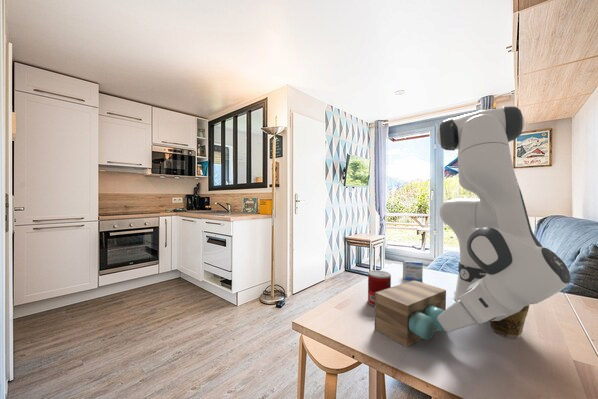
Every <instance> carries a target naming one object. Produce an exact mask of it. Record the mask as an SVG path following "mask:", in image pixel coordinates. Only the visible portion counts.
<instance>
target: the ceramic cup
mask: <svg viewBox="0 0 598 399" xmlns="http://www.w3.org/2000/svg"><path fill="white" fill-rule="evenodd" d="M529 309H530V305H527V306H525V307H523V308H522V310H520V311H519V312H517V313H515V314H513V315H511V316H508V317H506V318H504V319H502V320H500V321H489V326H490V329H491V330H492V331H493V332H494V333H495V334H497V335H500V336H501V337H505V338H507V339H519V338H520V337H521V336H522V333H523V329H524V325H525V321H526V318H527V316H528V312H529Z"/></svg>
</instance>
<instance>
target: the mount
mask: <svg viewBox="0 0 598 399" xmlns="http://www.w3.org/2000/svg"><path fill="white" fill-rule="evenodd" d="M446 301H447V289H443V288H440V287H437V286H435V285H431V284H427V283H424V282H422V281H415V280H413V281H412V280H409V281H407V282H404V283H401V284H398V285H395V286H391V288H388V289H384V290H381V291H378V292H375V306H374V330H375V331H378V332H379V333H382V334H383V335H385V336H386V337H388V338H390V339H391V340H394V341H395V342H397V343H399V344H401V345H403V346H404V347H406V348H407V347H409V346H411V345H412V344H415V343H416V342H419V341H420V340H421V339H424V340H427V341H428V340H431V338H432V337H433V336H434V333H435V332H437V330H436V329H435V320H434V319H433V318H432V317H430V316H427V315H425V314H424V309H425V308H427V306H429V305H432V306H435V307H437V308H440V309H443V310H446V309H447V308H446V303H447V302H446Z"/></svg>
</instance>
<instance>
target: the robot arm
mask: <svg viewBox="0 0 598 399" xmlns="http://www.w3.org/2000/svg"><path fill="white" fill-rule="evenodd" d="M524 127H525V117H524V115H523V113H522V110H521V109H519V108H518V107H517V106H514V105H513V106H509V105H508V106H502V107H499V108H489V109H482V110H478V111H475V112H471V113H470V112H469V113H467V114H463V115H460V116H456V117H450V118H447V119H445V120H443V121H441V123H440V124H439V127H438V129H437V132H436V138H437V141H438V142H437V143H438V144H439V145H440V148H442V149H443V150H445V151H455V150H458V151H457V170H458V173H457V174H458V183H459V185H460V186H461V187H462V189H463V190H465V191H468V192H471V193H473V194H475V195H476V196H477V198H453V199H449V200H448V199H447V200H445V201H444V202H443V203H442V204H441V206H440V207H439V216H440V219H441V220H442V223H444V224H445V225H447V226H448V227H449V228H450V229H451V230H452V231H453V233H454V234H455V236H456V238H457V240H458V243H459V244H458V245H459V262H458V266H457V268H458V269H457V271H458V275H457V280H456V286H455V287H456V288H455V290H454V293H453V294H454V297H453V299H454V300H455V302H454V303H452V304H451V305H449V306H448V308H446V310H445V311H443V312H442V313H441V314H440V315H439V316H438V317H437V320H438V322H439V323H440V325H441V326H442V328H443V329H444V332H447V333H451V332H454V331H455V332H456V331H458V330H461V329H464V328H466V327H470V326H472V325H475V324H478V325H483V324H485V323H486V324H487V323H488V322H489V323H490V321H500V320H502V319H504V318H506V317H508V316H511V315H513V314H515V313H517V312H519V311H520V310H522V308H523V307H525V306H527V305H529V306H530V305H537V304H539V303H541V302H543V301H545V300H546V299H547V300H548V299H549V298H550V297H553V296H554V295H556V294H559V292H561V291H562V290H564V289H565V288H566V287H567V286H568V285H569V284H570V282H571V278H572V277H571V272H570V269H569V268H568V266H567V265H566V264H565V262H564V261H563V259H562V258H560V257H559V256H558V255H557V254H556V253H555V252H554V251H552V250H551V249H550V248H548V247H544V246H542V244H541V242H540V241H539V240H538V239H537V236H536V235H535V234H534V232H533V230H532V226H531V222H530V220H529V219H530V218H529V215H528V211H527V207H526V203H525V200H524V198H523V193H522V189H521V187H520V185H519V182H518V179H517V176H516V173H515V169H514V165H513V160H512V155H511V154H512V153H511V150H510V144H509V143H511V142H513V141H515V140H516V139H517V138H519V137H520V136H521V134H522V132H523V131H524V130H523V129H524Z"/></svg>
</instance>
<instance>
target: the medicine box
mask: <svg viewBox="0 0 598 399" xmlns="http://www.w3.org/2000/svg"><path fill="white" fill-rule="evenodd" d="M423 264H424V263H423V262H422V261H421V260H412V259H411V260H406V259H403V260H402V278H403V279H404V280H405V281H413V280H415V281H418V282H423V274H424V273H423V271H424V270H423V269H424V268H423Z"/></svg>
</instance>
